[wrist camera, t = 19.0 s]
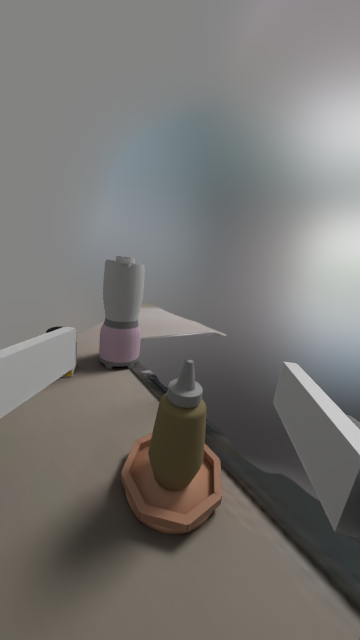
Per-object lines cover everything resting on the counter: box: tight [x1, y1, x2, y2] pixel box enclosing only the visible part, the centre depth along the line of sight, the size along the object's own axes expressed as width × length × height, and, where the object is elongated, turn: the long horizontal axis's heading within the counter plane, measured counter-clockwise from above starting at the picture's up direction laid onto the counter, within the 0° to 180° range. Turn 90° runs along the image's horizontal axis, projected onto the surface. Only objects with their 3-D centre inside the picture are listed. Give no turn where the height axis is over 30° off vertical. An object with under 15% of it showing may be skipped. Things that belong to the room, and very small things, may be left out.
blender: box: [99, 256, 145, 369], centre depth 64 cm, size 16×12×32 cm
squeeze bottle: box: [148, 360, 206, 491], centre depth 29 cm, size 8×8×18 cm
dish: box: [121, 434, 222, 535], centre depth 31 cm, size 14×14×2 cm
